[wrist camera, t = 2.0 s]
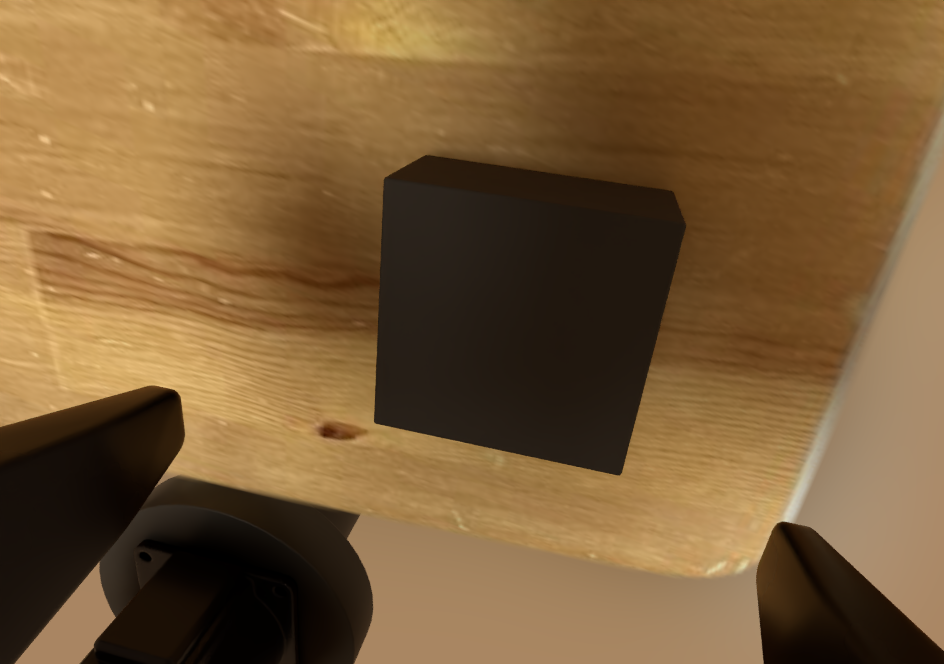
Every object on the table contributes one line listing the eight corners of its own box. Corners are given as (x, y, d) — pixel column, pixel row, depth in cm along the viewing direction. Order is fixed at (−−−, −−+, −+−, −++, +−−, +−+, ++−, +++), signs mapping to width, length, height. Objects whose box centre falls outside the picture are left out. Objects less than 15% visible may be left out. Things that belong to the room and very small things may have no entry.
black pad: (620, 409, 17) (620, 477, 14) (409, 367, 18) (373, 424, 15) (674, 190, 14) (687, 223, 12) (424, 154, 15) (383, 177, 12)
